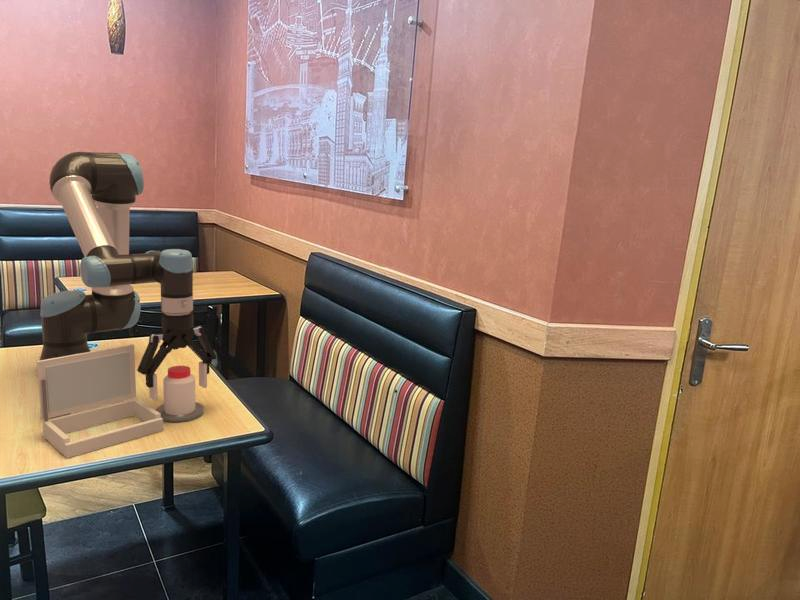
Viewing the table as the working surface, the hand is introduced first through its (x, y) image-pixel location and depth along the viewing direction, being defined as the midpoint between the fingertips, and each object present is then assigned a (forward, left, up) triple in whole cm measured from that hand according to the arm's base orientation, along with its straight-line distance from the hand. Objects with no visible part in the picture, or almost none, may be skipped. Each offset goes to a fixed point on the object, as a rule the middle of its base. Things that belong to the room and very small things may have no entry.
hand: (179, 392), depth 162 cm
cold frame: (0, -19, -6) cm, 20 cm away
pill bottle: (0, 0, -5) cm, 5 cm away
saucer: (0, 0, -6) cm, 6 cm away
